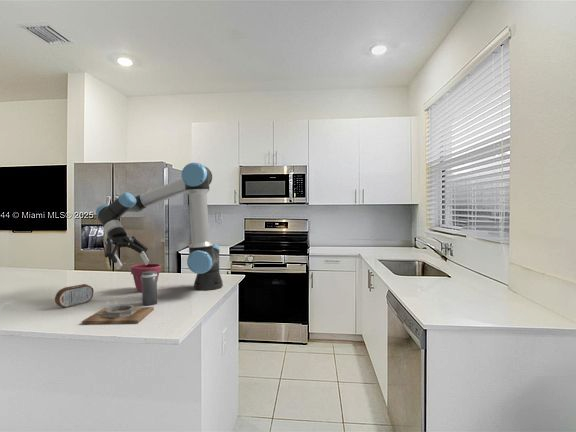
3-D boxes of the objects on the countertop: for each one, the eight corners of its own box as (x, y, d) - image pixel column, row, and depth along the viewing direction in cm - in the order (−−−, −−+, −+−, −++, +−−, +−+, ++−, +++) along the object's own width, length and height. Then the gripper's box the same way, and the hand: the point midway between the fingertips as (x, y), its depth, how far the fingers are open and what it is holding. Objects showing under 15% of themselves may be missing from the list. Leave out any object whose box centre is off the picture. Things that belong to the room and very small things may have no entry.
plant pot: (166, 287, 174) (165, 263, 174) (152, 293, 160) (152, 268, 160) (140, 286, 175) (140, 263, 175) (125, 293, 161) (125, 267, 161)
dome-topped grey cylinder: (159, 301, 146) (159, 271, 146) (154, 305, 140) (154, 273, 140) (145, 301, 146) (145, 271, 146) (139, 305, 140) (139, 273, 140)
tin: (91, 300, 149) (90, 282, 149) (94, 301, 147) (94, 282, 147) (54, 309, 136) (54, 289, 135) (58, 310, 134) (58, 290, 134)
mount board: (153, 309, 134) (153, 302, 134) (137, 323, 118) (137, 314, 118) (104, 310, 133) (104, 302, 133) (81, 324, 117) (81, 315, 117)
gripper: (136, 235, 168) (154, 266, 160) (85, 238, 146) (104, 275, 139) (142, 225, 165) (161, 256, 158) (91, 227, 144) (111, 263, 136)
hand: (134, 265), depth 148 cm, fingers open, 13 cm apart
